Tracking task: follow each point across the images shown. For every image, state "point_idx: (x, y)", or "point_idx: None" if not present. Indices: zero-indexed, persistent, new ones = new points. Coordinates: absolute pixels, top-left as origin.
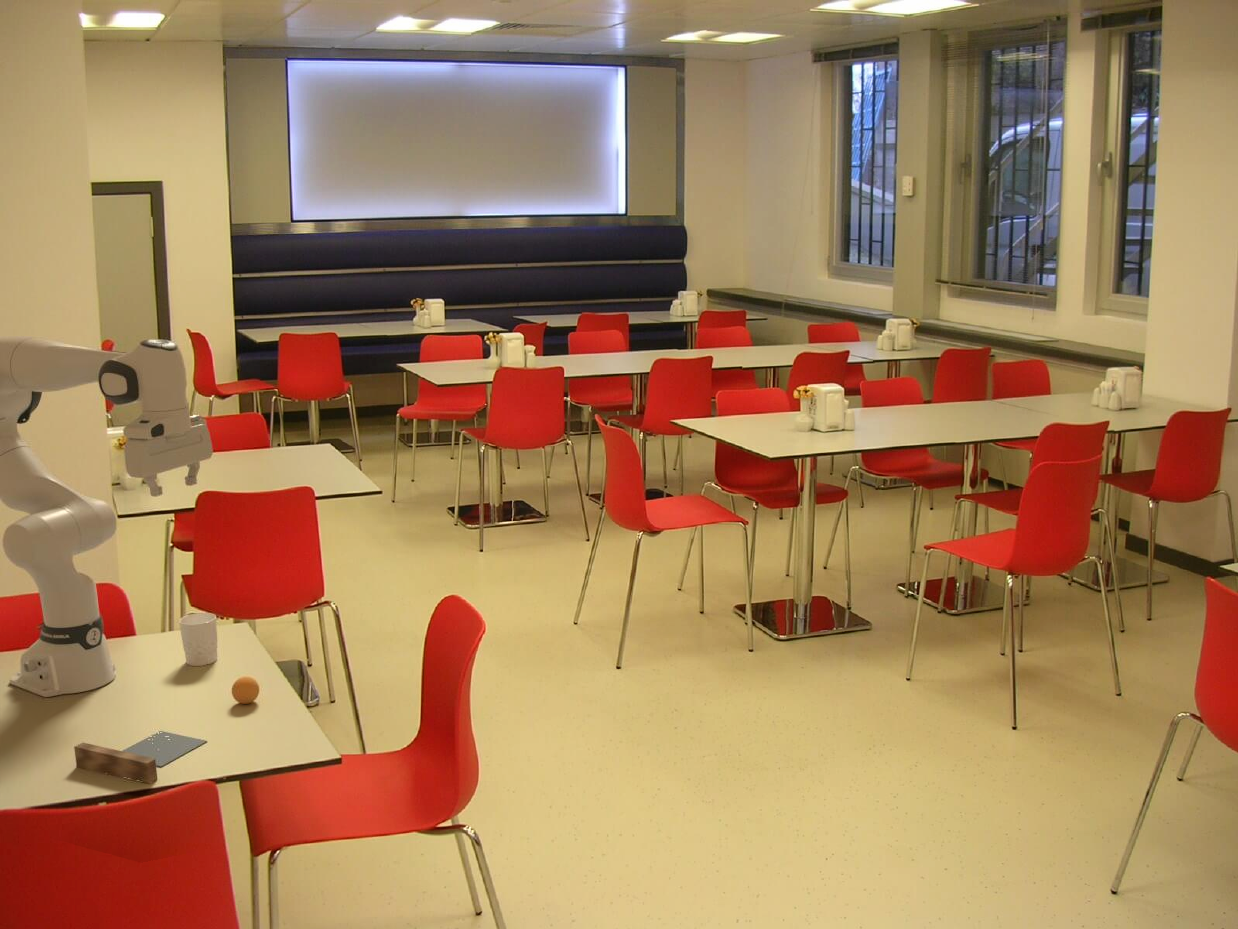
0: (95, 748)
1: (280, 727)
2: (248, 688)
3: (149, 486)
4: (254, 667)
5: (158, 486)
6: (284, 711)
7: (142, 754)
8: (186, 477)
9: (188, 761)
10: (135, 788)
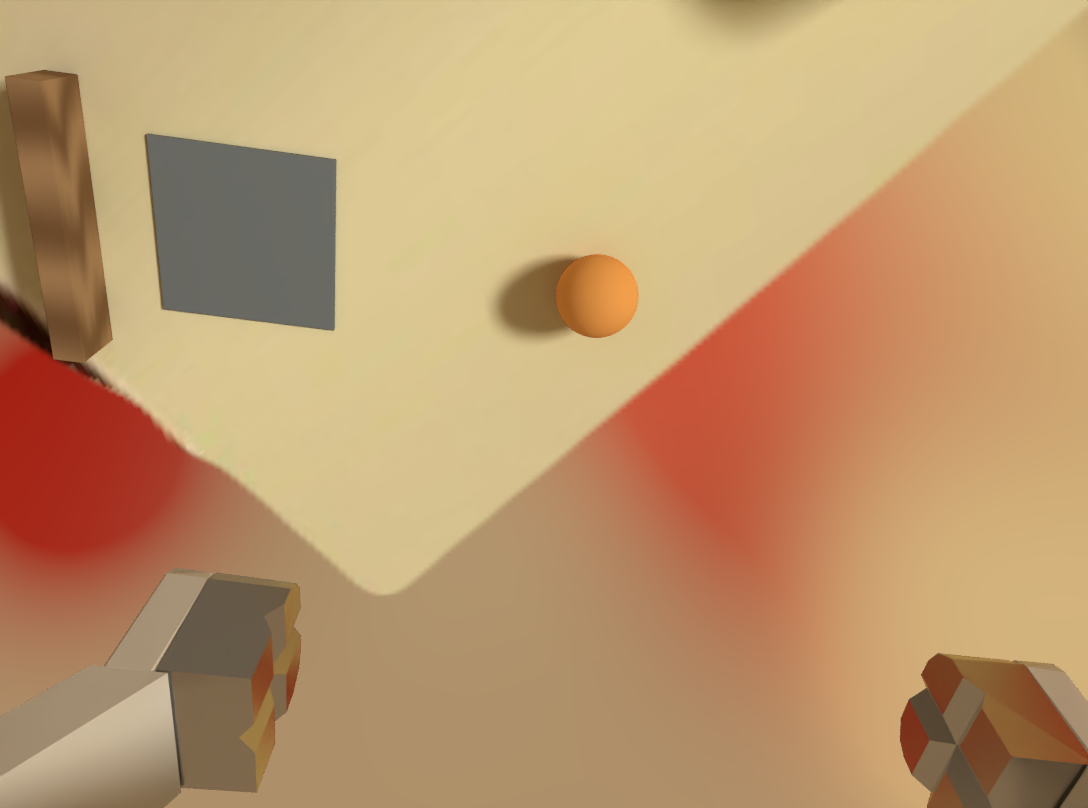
0: (34, 156)
1: (474, 449)
2: (573, 329)
3: (66, 699)
4: (878, 136)
5: (163, 806)
6: (566, 409)
7: (191, 215)
8: (986, 782)
9: (224, 350)
10: None
